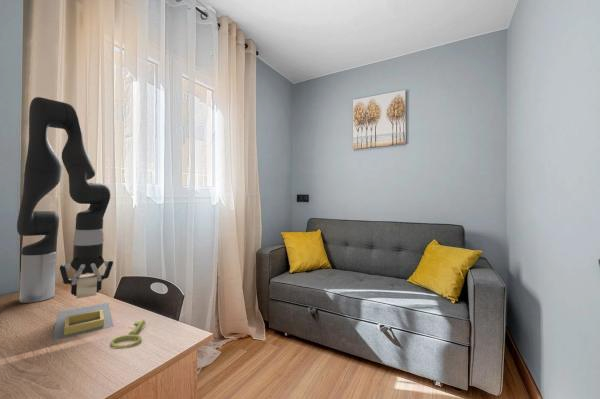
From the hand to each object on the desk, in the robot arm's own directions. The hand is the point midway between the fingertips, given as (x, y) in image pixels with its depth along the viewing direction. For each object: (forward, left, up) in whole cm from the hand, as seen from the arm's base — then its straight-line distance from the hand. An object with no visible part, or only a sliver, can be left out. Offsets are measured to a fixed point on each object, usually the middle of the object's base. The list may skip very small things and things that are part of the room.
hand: (86, 293), depth 84 cm
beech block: (0, 0, 0) cm, 0 cm away
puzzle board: (+7, 0, -7) cm, 10 cm away
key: (+25, +10, -8) cm, 28 cm away
